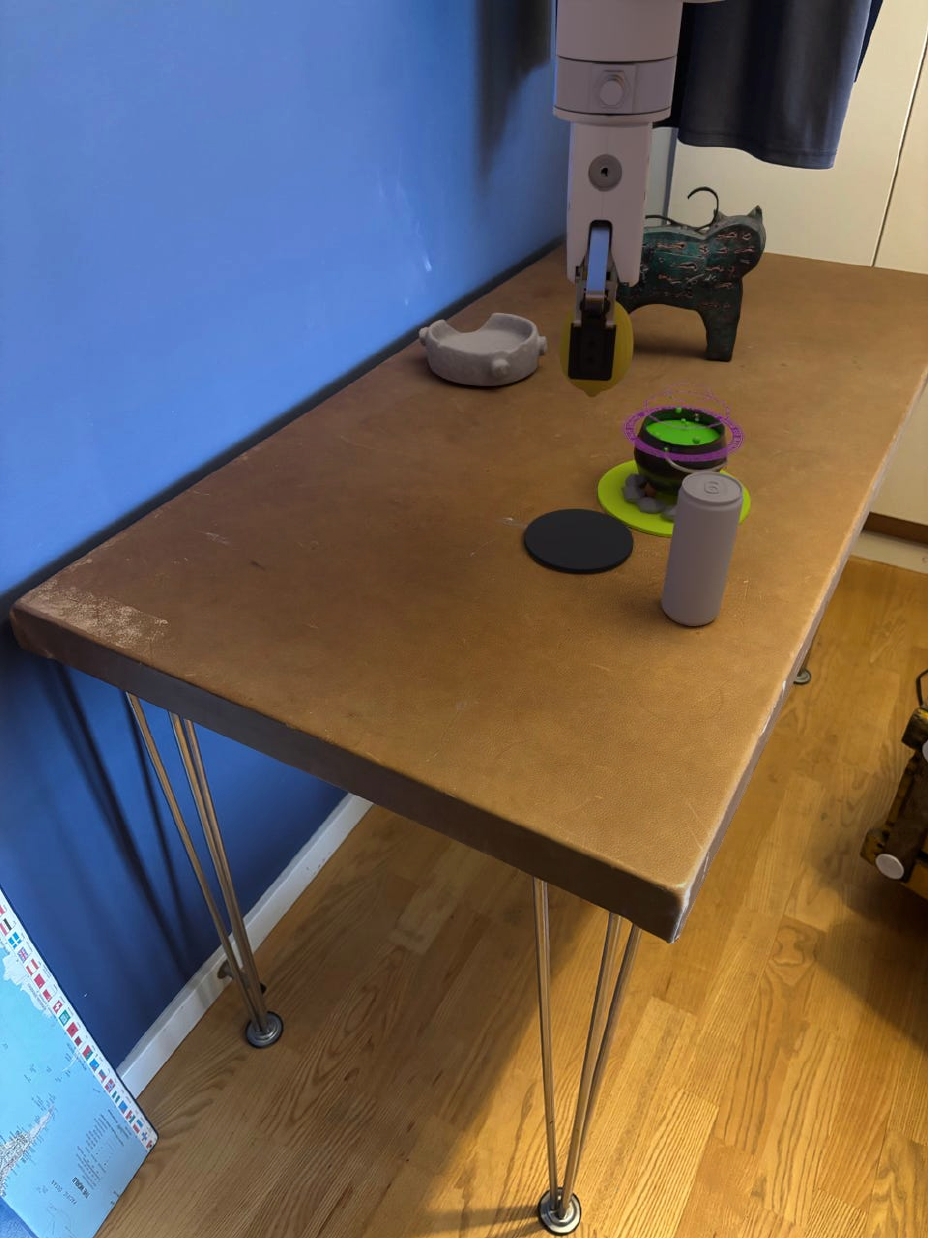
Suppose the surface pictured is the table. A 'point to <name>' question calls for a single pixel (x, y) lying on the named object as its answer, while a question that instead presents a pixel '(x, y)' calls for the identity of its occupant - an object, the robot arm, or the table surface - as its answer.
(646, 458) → the toy cauldron
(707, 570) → the beverage can
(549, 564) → the disc
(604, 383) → the lemon
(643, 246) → the ceramic cat
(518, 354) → the dish
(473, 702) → the table surface
